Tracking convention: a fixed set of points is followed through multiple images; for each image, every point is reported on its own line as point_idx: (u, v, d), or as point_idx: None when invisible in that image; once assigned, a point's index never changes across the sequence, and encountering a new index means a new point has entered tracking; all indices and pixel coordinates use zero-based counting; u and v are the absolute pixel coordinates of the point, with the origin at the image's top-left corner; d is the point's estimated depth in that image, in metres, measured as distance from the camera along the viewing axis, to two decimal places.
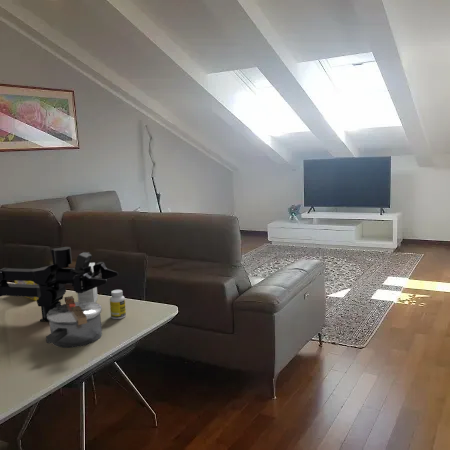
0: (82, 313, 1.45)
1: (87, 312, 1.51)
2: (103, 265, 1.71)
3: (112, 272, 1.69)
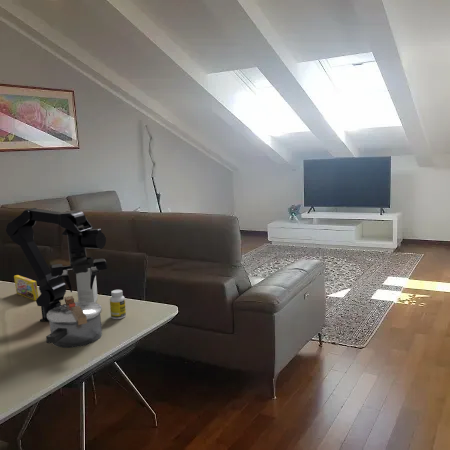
0: (82, 313, 1.45)
1: (87, 312, 1.51)
2: (94, 273, 1.64)
3: (90, 283, 1.66)
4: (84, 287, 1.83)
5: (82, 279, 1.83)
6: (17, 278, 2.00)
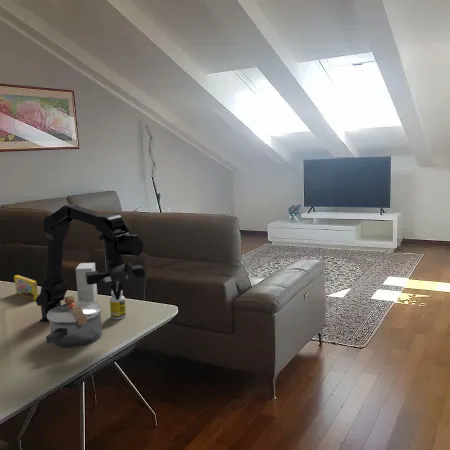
0: (82, 313, 1.45)
1: (87, 312, 1.51)
2: (122, 282, 1.52)
3: (117, 293, 1.54)
4: (84, 287, 1.83)
5: (82, 279, 1.83)
6: (17, 278, 2.00)
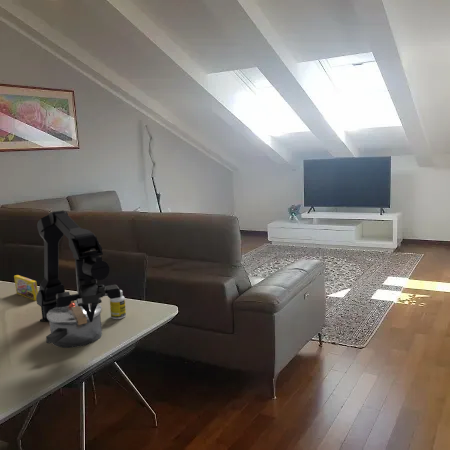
0: (82, 313, 1.45)
1: None
2: (95, 304, 1.43)
3: None
4: None
5: None
6: (17, 278, 2.00)
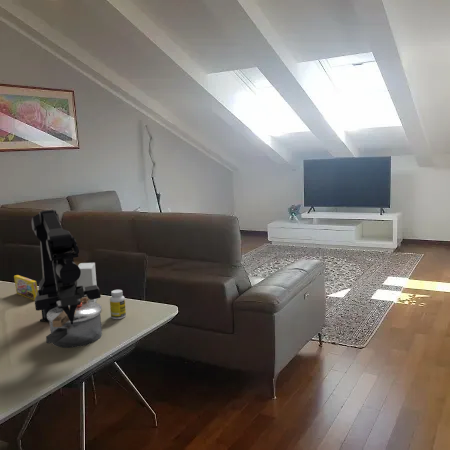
0: (64, 315, 1.44)
1: (79, 315, 1.49)
2: (74, 305, 1.41)
3: None
4: (84, 287, 1.83)
5: (82, 279, 1.83)
6: (17, 278, 2.00)
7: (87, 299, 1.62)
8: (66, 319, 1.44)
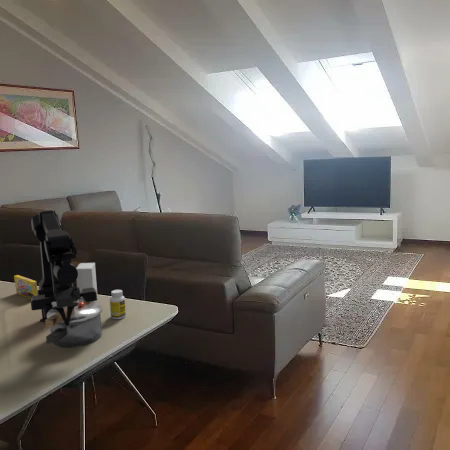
0: (58, 315, 1.44)
1: (75, 316, 1.48)
2: (71, 307, 1.40)
3: (67, 319, 1.42)
4: (84, 287, 1.83)
5: (82, 279, 1.83)
6: (17, 278, 2.00)
7: None
8: (60, 319, 1.44)
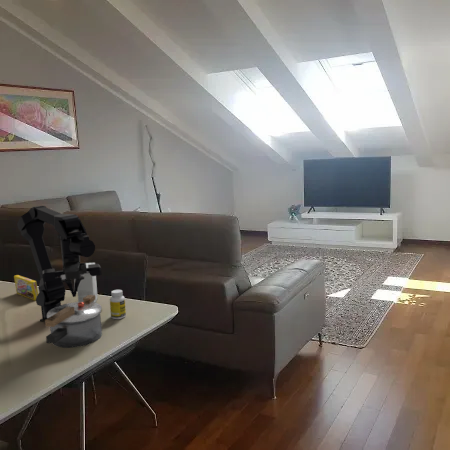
0: (58, 315, 1.44)
1: (75, 316, 1.48)
2: (78, 280, 1.57)
3: (74, 291, 1.59)
4: (84, 287, 1.83)
5: None
6: (17, 278, 2.00)
7: (91, 299, 1.61)
8: (60, 319, 1.44)
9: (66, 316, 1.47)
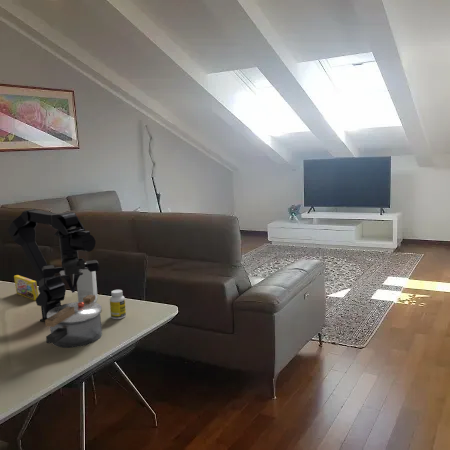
0: (58, 315, 1.44)
1: (75, 316, 1.48)
2: (77, 276, 1.61)
3: (73, 286, 1.63)
4: (84, 287, 1.83)
5: (82, 279, 1.83)
6: (17, 278, 2.00)
7: (91, 299, 1.61)
8: (60, 319, 1.44)
9: (66, 316, 1.47)
